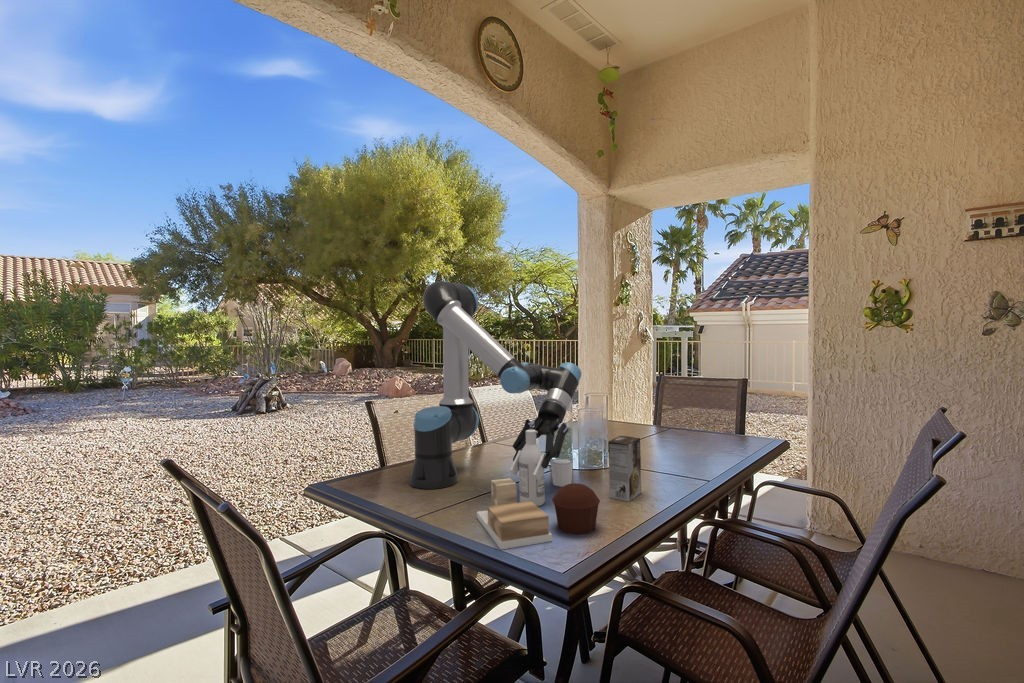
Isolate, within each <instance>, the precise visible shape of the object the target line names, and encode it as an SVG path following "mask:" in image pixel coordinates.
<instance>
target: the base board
mask: <svg viewBox="0 0 1024 683" xmlns="http://www.w3.org/2000/svg"><path fill="white" fill-rule="evenodd" d="M476 518H477V520H478V521H479V522H480V524H481V525H482V527H483V528H484V530H486V532H487V534H488V535H489V536H490V538H491V539H492V540H493V541H494V543H495V544H496V546H497V547H498V548H499V550H507V549H513V548H517V547H524V546H531V545H536V544H537V545H538V544H543V543H548V542H549V543H550V542H552V541H553V534H552V533H551V532H550V531H549V534H545V535H539V536H533V537H527V538H520V539H514V540H508V541H501V540H500V538H499V537H498V536H497V534H496V533H495V532H494V531H493V529H492V528H491V527H490V525H489V524H488V509H487V510H479V511H476Z"/></svg>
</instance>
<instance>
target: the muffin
mask: <svg viewBox="0 0 1024 683" xmlns="http://www.w3.org/2000/svg"><path fill="white" fill-rule="evenodd" d="M551 501H552V503H553V504H554V505H553V506H554V509H555V515H556V521H557V527H558V530H559V531H562V532H563V533H565V534H569V535H570V534H571V535H576V536H578V535H587V534H590V533H592V532H594V531H595V530H596V525H597V517H598V510H599V505H600V502H601V500H600V498H599V497H598V495H597V494H596V493H595V491H594V490H593V489H592V488H591V487H589V486H587V485H586V484H583V483H577V482H576V483H573V482H572V483H571V484H568V485H565V486H563V487H560V489H558V491H557V492H555V494H554V496H553V497H552V499H551Z"/></svg>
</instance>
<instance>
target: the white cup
mask: <svg viewBox="0 0 1024 683" xmlns="http://www.w3.org/2000/svg"><path fill="white" fill-rule="evenodd" d="M573 462H574V461H572V460H571V459H565V458H556V459H553V460H552V459H551V460H550V466H551V467H550V469H551V477H552V485H553V486H556V487H560V488H562V487H563V486H565V485H568V484H572V479H573V475H572V474H573V466H574V463H573Z"/></svg>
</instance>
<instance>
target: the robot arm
mask: <svg viewBox="0 0 1024 683" xmlns="http://www.w3.org/2000/svg"><path fill="white" fill-rule="evenodd" d="M422 296H423V297H422V303H423V307H424V309H425V311H426V312H427V314H428V315H429V316H430V317H431V318H432V319H433V320H434V321H435V322H436V323H437V324H438V325H439V326H442V329H443V330H442V333H443V334H442V336H443V337H442V340H443V342H442V343H443V344H442V346H443V350H442V351H443V352H442V353H443V354H442V356H443V359H442V360H443V397H442V399H440V401H439V404H438V405H437V406H431V407H430V406H429V407H425V408H422V409H420V410H418V411H417V412H416V413H415V414H414V421H413V428H414V429H413V430H414V462H413V464H412V468H411V470H410V471H411V472H410V476H409V485H410V486H411V487H413V488H416V489H421V490H423V489H424V490H434V489H435V490H436V489H443V488H448V487H450V486H453V485H456V484H457V483H458V481H459V475H458V470H457V467H456V465H455V463H454V462H455V461H454V459H453V453H452V452H453V448H452V447H453V446H452V445H453V444H454V443H455V444H456V443H457V442H460V441H464V440H466V439H468V438H470V437H472V436H473V435H474V434H475V433H476V431H477V430H478V428H479V424H480V418H479V414H478V411H477V410H476V409H475V407H474V401H473V399H472V398H470V396H469V389H470V388H469V387H470V386H469V385H470V384H469V350H470V351H471V352H472V353H473V354H474V355H475V356H476V357H477V358H478V359H479V360H480V361H482V363H483V364H484V365H485V366H486V367H488V369H490V371H492V372H493V373H494V374H495V375H496V376H497V377H498V378H499V381H500V386H501V387H502V389H503V390H504V392H506V393H508V394H522V393H524V392H527V391H528V392H529V391H531V390H542V391H546V395H545V397H544V399H543V402H542V403H541V406H540V408H539V410H538V413H537V417H536V418H535V419H533V420H530V419H525V421H524V425H523V428H522V429H521V431H520V432H519V434H518V436H517V437H516V438H515V440H514V442H513V444H512V448H513V449H514V450H515V454H514V456H513V458H512V461H513V463H512V464H511V466H510V468H509V472H510V473H511V474H512V476H514V477H517V475H518V474H519V456H520V453H521V451H522V449H523V447H524V446H525V444H526V430H536V440H537V439H539V438H540V437H541V436H545V448H544V449H545V451H544V453H542V455H541V457H540V460H539V462H538V464H537V467H536V469H535V471H534V473H533V475H534V476H535V478H536V479H537V480H540V478H541V476H542V473H543V471H544V472H545V469H547V468H548V467H549V464H550V463H551V461H552V459H553V458H556V459H559V458H560V454H561V452H562V447H563V444H564V440H565V436H566V434H567V433H568V432H569V427H568V425H567V424H566V423H565V422H563V421H564V418H565V416H566V414H567V411H568V409H569V407H570V405H571V402H572V399H573V397H574V395H575V393H576V391H577V388H578V387H579V385H580V380H581V377H582V371H581V368H580V367H579V366H577V365H576V364H575V363H572V362H568V361H566V362H561V364H560V365H559V366H558V367H551V366H550V367H549V366H546V365H541V364H537V363H533V362H525V361H524V362H520V361H518V359H517V358H516V357H515V356H514V355H512V353H511V352H509V351H508V350H507V349H506V348H505V347H504V346H503V345H501V343H500V342H498V341H497V340H496V338H494V337H493V336H492V335H491V334H490V333H489V332H488V331H487V330H486V329H485V328H484V327H483V326H482V325H480V323H478V322H477V321H476V320H475V319H474V315H475V313H477V310H478V309H479V308H478V307H479V298H478V295H477V293H476V291H475V290H473V288H472V287H470V286H468V285H466V284H464V283H457V282H451V281H444V280H441V281H440V280H439V281H435V282H432V283H431V284H429V285H428V286H427V287H426V288H425V290H424V292H423V295H422ZM556 431H557V433H556V435H555V432H556Z"/></svg>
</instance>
